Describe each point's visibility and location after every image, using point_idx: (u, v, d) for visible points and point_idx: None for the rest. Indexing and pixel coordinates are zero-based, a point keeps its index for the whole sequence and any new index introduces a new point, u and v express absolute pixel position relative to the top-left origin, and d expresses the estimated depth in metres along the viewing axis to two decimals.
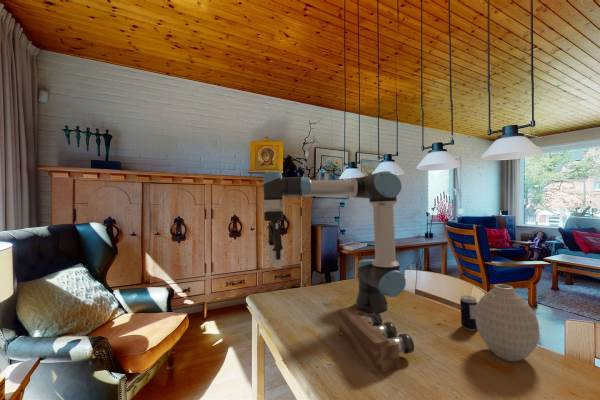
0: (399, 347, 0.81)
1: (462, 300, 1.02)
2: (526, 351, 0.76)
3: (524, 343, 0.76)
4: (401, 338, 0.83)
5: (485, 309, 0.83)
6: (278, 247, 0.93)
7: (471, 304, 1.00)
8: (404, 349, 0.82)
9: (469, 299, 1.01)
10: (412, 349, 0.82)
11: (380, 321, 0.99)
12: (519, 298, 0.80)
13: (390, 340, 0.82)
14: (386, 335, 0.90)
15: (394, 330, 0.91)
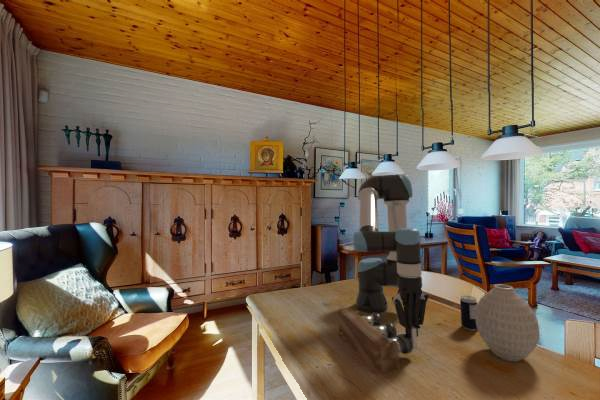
0: None
1: (462, 300, 1.02)
2: (526, 351, 0.76)
3: (524, 343, 0.76)
4: (399, 338, 0.83)
5: (485, 309, 0.83)
6: (401, 323, 0.84)
7: (471, 304, 1.00)
8: (402, 349, 0.82)
9: (469, 299, 1.01)
10: (410, 349, 0.82)
11: (380, 321, 0.99)
12: (519, 298, 0.80)
13: None
14: (386, 335, 0.90)
15: (394, 330, 0.91)
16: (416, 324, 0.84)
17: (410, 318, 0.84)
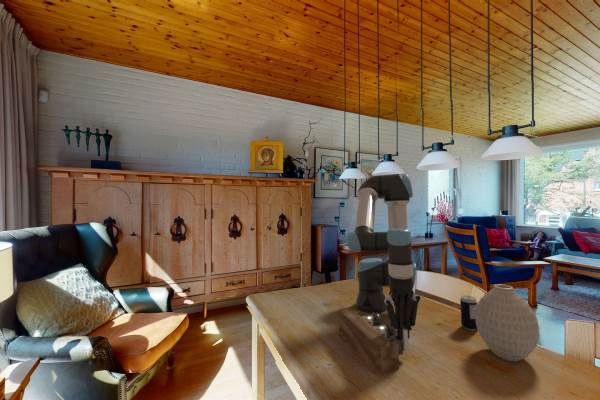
0: None
1: (462, 300, 1.02)
2: (526, 351, 0.76)
3: (524, 343, 0.76)
4: (390, 340, 0.82)
5: (485, 309, 0.83)
6: (393, 325, 0.83)
7: (471, 304, 1.00)
8: None
9: (469, 299, 1.01)
10: (401, 351, 0.81)
11: (380, 321, 0.99)
12: (519, 298, 0.80)
13: None
14: (386, 335, 0.90)
15: (394, 330, 0.91)
16: (407, 326, 0.83)
17: (401, 320, 0.83)
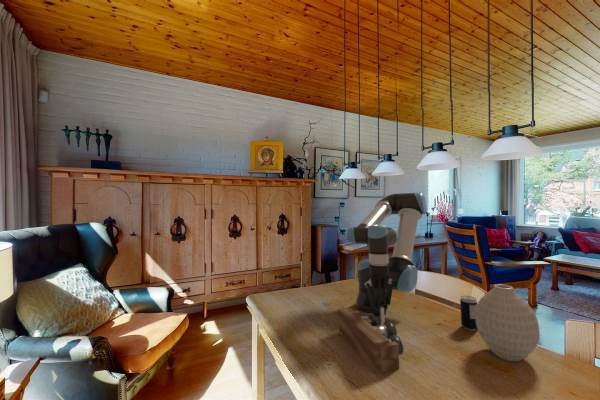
0: None
1: (462, 300, 1.02)
2: (526, 351, 0.76)
3: (524, 343, 0.76)
4: (390, 340, 0.82)
5: (485, 309, 0.83)
6: (372, 304, 1.01)
7: (471, 304, 1.00)
8: None
9: (469, 299, 1.01)
10: (401, 351, 0.81)
11: (378, 321, 0.99)
12: (519, 298, 0.80)
13: None
14: (386, 335, 0.90)
15: (394, 330, 0.91)
16: (384, 304, 1.01)
17: (379, 299, 1.01)
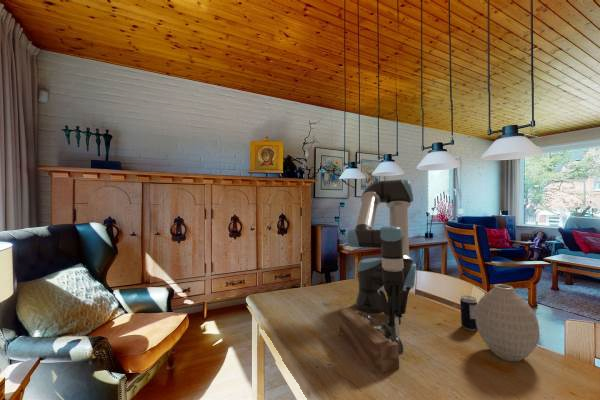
0: None
1: (462, 300, 1.02)
2: (526, 351, 0.76)
3: (524, 343, 0.76)
4: (390, 340, 0.82)
5: (485, 309, 0.83)
6: (385, 313, 0.93)
7: (471, 304, 1.00)
8: None
9: (469, 299, 1.01)
10: (401, 351, 0.81)
11: (371, 323, 0.98)
12: (519, 298, 0.80)
13: None
14: None
15: (392, 330, 0.90)
16: (398, 313, 0.93)
17: (393, 308, 0.92)
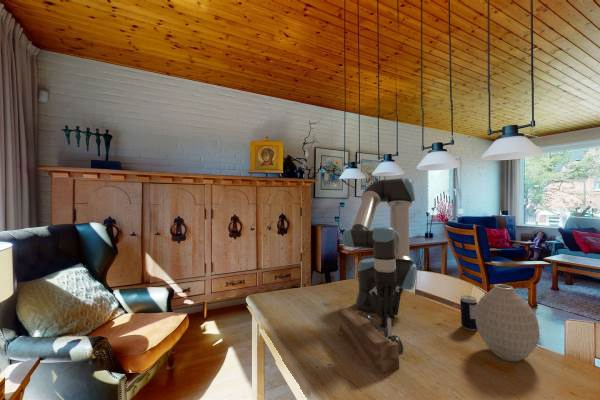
0: None
1: (462, 300, 1.02)
2: (526, 351, 0.76)
3: (524, 343, 0.76)
4: (390, 340, 0.82)
5: (485, 309, 0.83)
6: (377, 314, 0.92)
7: (471, 304, 1.00)
8: None
9: (469, 299, 1.01)
10: (401, 351, 0.81)
11: (371, 323, 0.98)
12: (519, 298, 0.80)
13: None
14: None
15: (384, 332, 0.90)
16: (391, 314, 0.92)
17: (385, 309, 0.91)
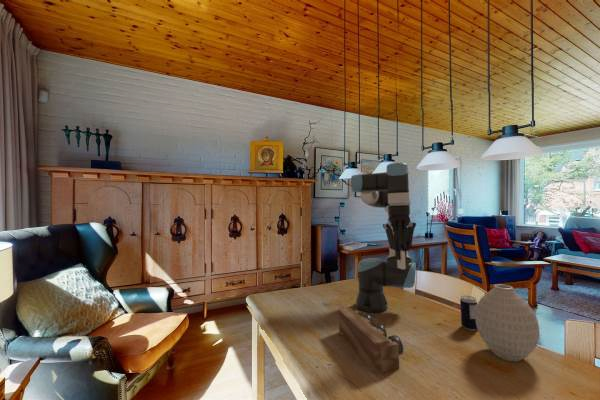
0: None
1: (462, 300, 1.02)
2: (526, 351, 0.76)
3: (524, 343, 0.76)
4: (390, 340, 0.82)
5: (485, 309, 0.83)
6: (391, 247, 0.95)
7: (471, 304, 1.00)
8: None
9: (469, 299, 1.01)
10: (401, 351, 0.81)
11: (371, 323, 0.98)
12: (519, 298, 0.80)
13: None
14: None
15: (384, 332, 0.90)
16: (405, 247, 0.94)
17: (399, 242, 0.94)
